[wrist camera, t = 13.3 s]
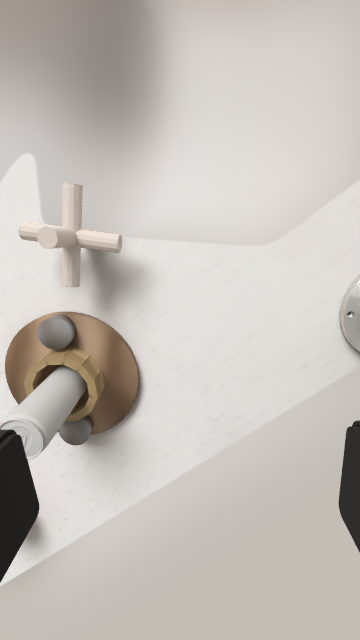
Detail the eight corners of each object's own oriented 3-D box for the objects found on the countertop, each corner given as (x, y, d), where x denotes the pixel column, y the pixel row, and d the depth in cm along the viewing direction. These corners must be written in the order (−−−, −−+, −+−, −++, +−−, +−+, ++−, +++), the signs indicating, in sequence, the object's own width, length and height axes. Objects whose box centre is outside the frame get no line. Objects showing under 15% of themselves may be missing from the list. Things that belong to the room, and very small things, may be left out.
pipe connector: (133, 197, 33) (108, 182, 23) (127, 283, 36) (101, 301, 26) (47, 185, 33) (-14, 165, 23) (47, 272, 36) (-7, 286, 26)
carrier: (130, 308, 36) (122, 317, 32) (145, 428, 42) (140, 449, 38) (-4, 315, 38) (-28, 325, 34) (26, 431, 43) (9, 451, 39)
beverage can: (93, 369, 38) (49, 428, 26) (84, 399, 39) (39, 467, 28) (58, 357, 38) (-2, 411, 26) (50, 388, 39) (-10, 451, 28)
